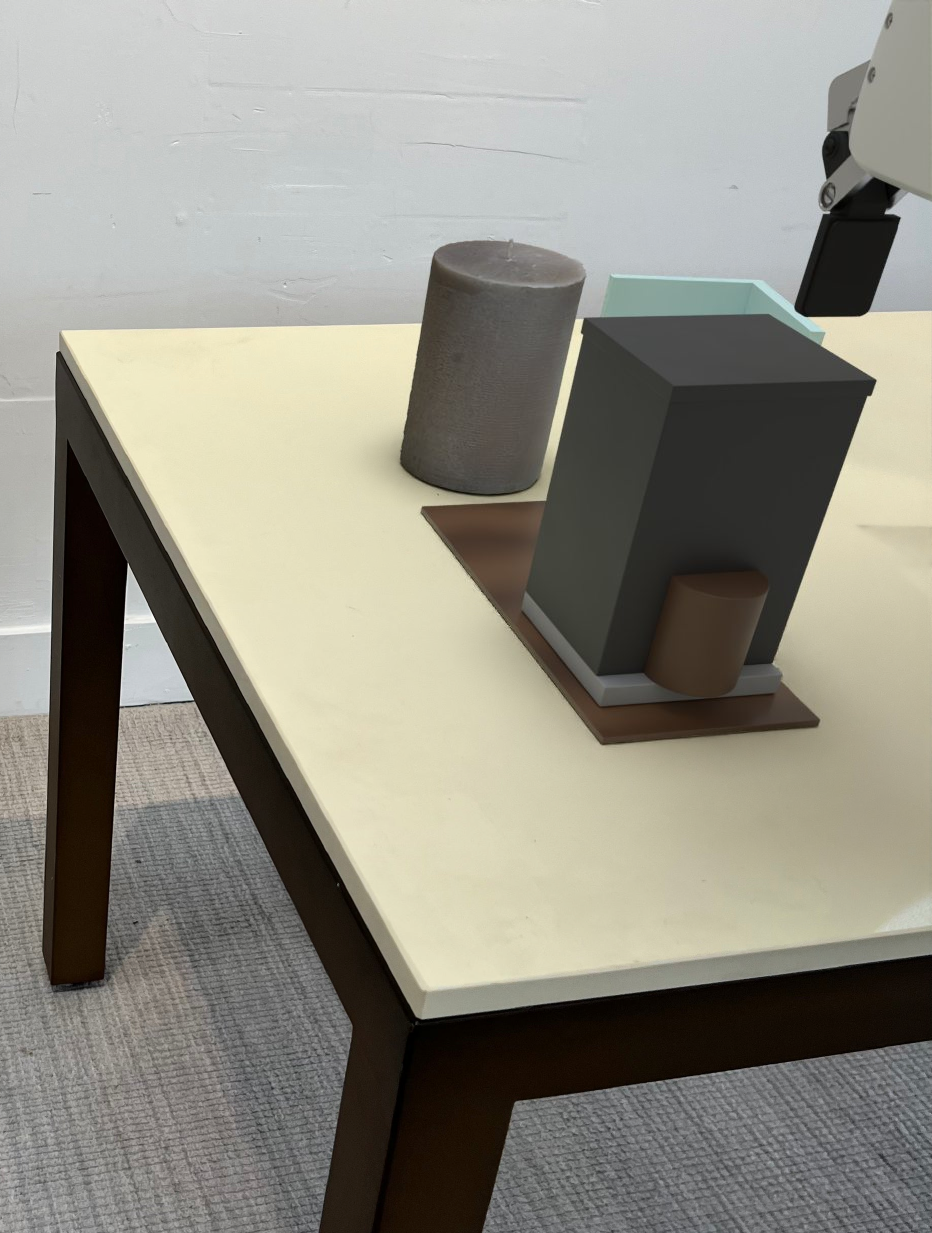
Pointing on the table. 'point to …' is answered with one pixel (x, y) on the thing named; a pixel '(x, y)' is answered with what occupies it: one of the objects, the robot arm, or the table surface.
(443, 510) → the base board
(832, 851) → the table surface
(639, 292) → the right angle wall
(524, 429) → the pillar candle
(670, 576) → the coffee maker
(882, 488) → the table surface
